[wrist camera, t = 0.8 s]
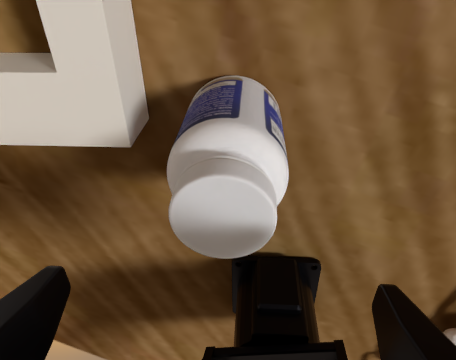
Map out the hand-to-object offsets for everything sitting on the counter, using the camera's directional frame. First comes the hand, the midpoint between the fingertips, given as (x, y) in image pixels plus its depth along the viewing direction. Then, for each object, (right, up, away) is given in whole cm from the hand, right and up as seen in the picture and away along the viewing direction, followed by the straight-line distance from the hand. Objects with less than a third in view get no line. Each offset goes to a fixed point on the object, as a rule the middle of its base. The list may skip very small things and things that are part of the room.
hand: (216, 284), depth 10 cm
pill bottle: (+1, +7, +10) cm, 12 cm away
